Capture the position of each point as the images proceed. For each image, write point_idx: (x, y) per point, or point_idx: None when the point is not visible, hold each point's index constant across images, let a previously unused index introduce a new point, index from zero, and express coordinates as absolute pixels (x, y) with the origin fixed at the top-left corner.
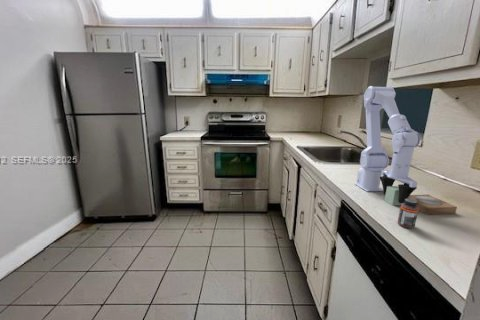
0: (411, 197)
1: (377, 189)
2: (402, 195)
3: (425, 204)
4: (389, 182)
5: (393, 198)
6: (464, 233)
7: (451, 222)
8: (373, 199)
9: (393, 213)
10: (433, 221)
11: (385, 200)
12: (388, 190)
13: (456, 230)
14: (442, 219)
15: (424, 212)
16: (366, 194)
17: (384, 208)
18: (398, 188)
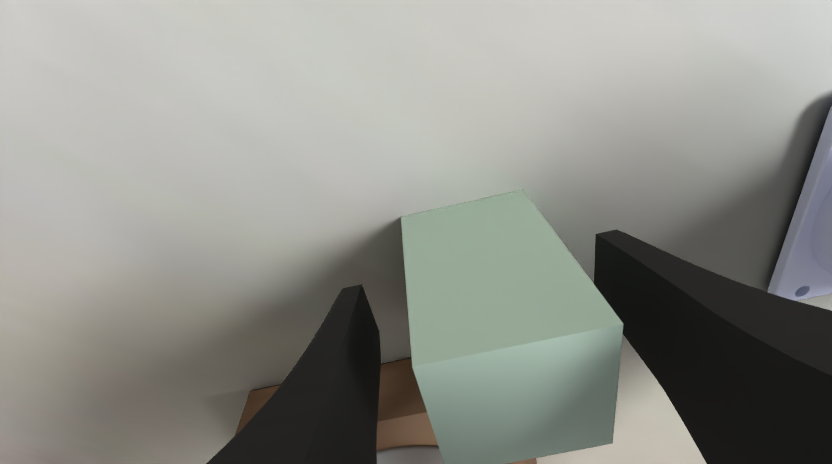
0: None
1: (815, 245)
2: (298, 379)
3: None
4: (729, 421)
5: (404, 265)
6: (4, 449)
7: (169, 456)
8: (565, 58)
9: (131, 118)
10: (120, 378)
11: (509, 196)
12: (543, 290)
13: (28, 433)
14: (198, 435)
15: (274, 391)
16: (751, 35)
17: (264, 71)
18: (505, 432)
